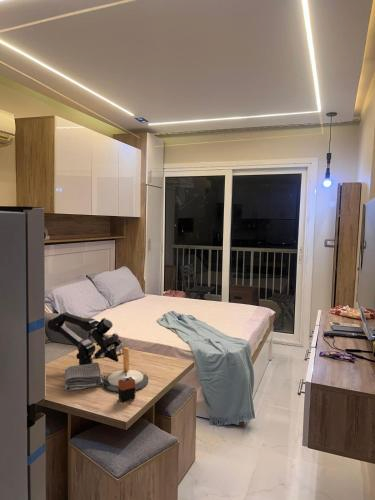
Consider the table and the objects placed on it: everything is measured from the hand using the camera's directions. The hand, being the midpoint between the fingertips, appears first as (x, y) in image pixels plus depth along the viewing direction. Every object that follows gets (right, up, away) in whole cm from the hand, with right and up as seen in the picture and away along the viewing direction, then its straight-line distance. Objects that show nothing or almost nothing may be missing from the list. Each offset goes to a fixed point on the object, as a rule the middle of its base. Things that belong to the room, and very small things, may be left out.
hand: (117, 361), depth 195 cm
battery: (+9, -10, -26) cm, 30 cm away
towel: (-15, -8, -11) cm, 20 cm away
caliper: (-11, -5, +27) cm, 29 cm away
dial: (+6, -6, -9) cm, 13 cm away
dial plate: (+6, -8, -9) cm, 14 cm away
